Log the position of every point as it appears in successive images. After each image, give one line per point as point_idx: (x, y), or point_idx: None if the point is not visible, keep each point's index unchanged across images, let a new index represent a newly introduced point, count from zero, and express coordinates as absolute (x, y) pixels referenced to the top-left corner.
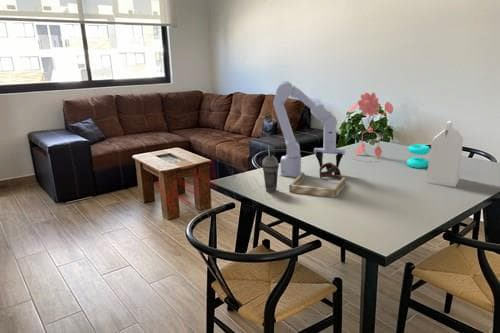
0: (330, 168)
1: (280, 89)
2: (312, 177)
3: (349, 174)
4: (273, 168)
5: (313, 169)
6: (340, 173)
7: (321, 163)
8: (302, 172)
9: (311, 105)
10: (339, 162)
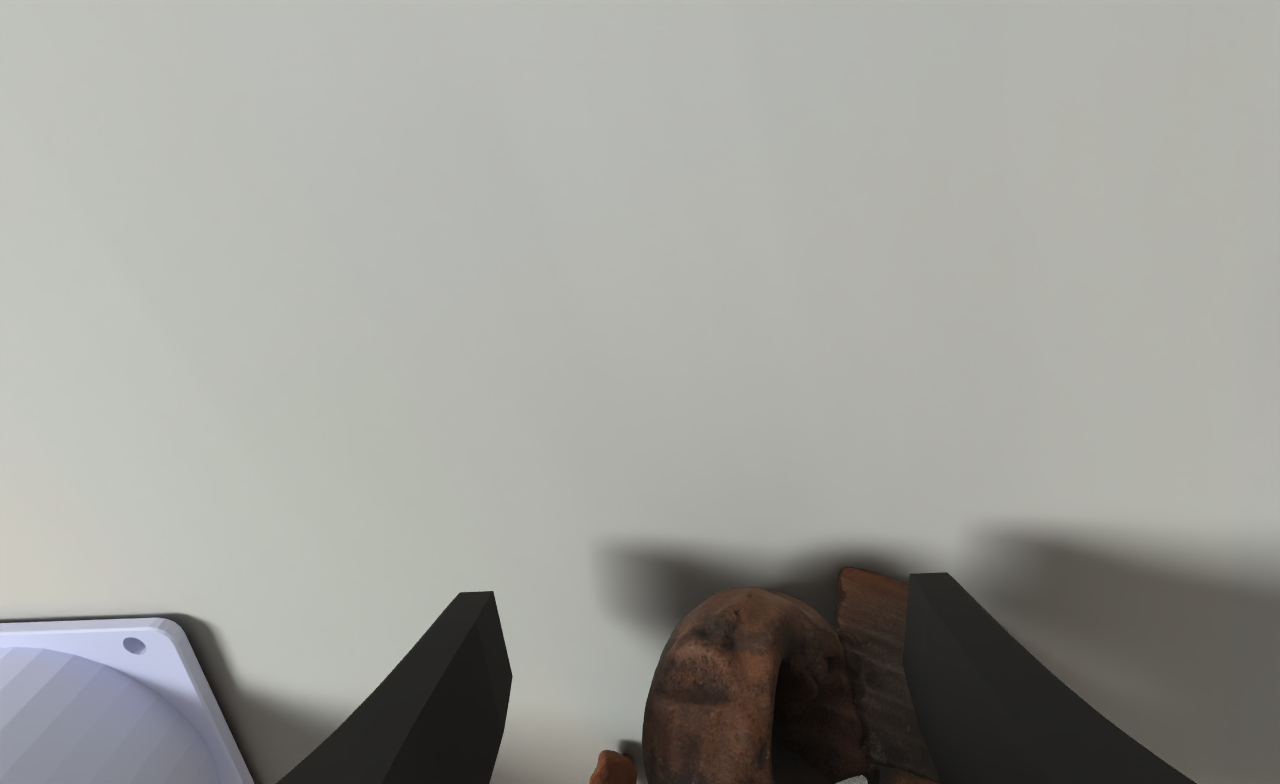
0: (773, 741)
1: None
2: None
3: (1184, 416)
4: None
5: (216, 347)
6: None
7: (472, 757)
8: (188, 685)
9: None
10: (1062, 706)
